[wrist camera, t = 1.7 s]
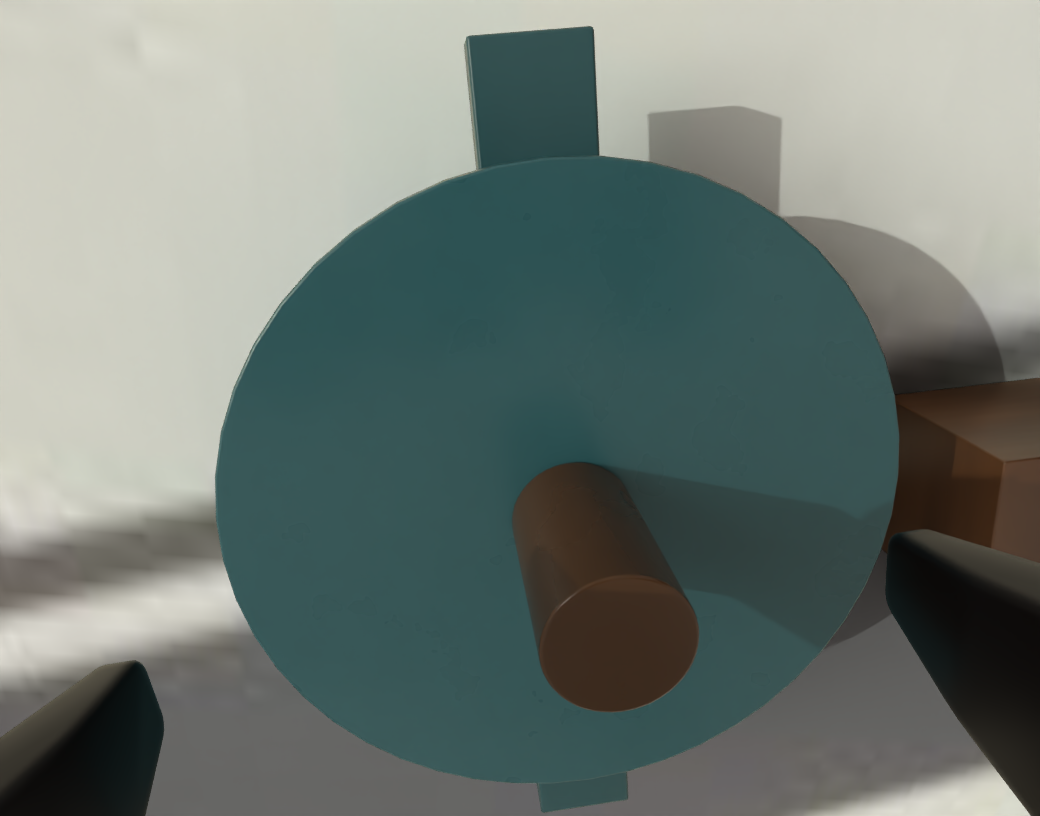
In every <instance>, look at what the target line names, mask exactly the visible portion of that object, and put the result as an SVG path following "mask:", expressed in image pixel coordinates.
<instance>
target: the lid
mask: <svg viewBox="0 0 1040 816" xmlns="http://www.w3.org/2000/svg"><path fill="white" fill-rule="evenodd" d="M898 467H899V428H898V419H897V410H896V401H895V394H894V390H893V387H892V383H891V379H890V375H889V371H888V367H887V364H886V360H885V356H884V354H883V352H882V349H881V347H880V345H879V342H878V340H877V338H876V335H875V333H874V331H873V328H872V326H871V324H870V321H869V319H868V317H867V315H866V314H865V312H864V310H863V309H862V307H861V306H860V304H859V302H858V301H857V299H856V298H855V296H854V294H853V293H852V291H851V290H850V288H849V286H848V285H847V283H846V282H845V280H844V279H843V278H842V277H841V276H840V274H839V273H838V272H837V271H836V270H835V269H834V267H833V266H832V265H831V264H830V263H829V262H828V260H827V259H826V258H825V257H824V256H823V255H822V254H821V252H820V251H819V250H818V249H817V248H816V247H815V246H814V245H813V244H812V243H810V242H809V241H808V240H807V239H806V238H805V237H803V236H802V235H801V234H800V233H799V232H798V231H796V230H795V229H794V228H793V227H792V226H791V225H789V224H788V223H787V222H786V221H785V220H784V219H782V218H781V217H779V216H778V215H776V214H774V213H773V212H771V211H769V210H768V209H766V208H765V207H763V206H761V205H760V204H758V203H757V202H755V201H753V200H752V199H750V198H749V197H747V196H745V195H744V194H742V193H740V192H737V191H735V190H733V189H730V188H728V187H726V186H723V185H721V184H719V183H717V182H714V181H712V180H710V179H707V178H705V177H703V176H700V175H698V174H694V173H690V172H687V171H683V170H679V169H675V168H672V167H668V166H664V165H661V164H657V163H653V162H648V161H640V160H631V159H623V158H615V157H606V156H597V155H588V156H544V157H538V158H532V159H526V160H520V161H514V162H507V163H501V164H495V165H491V166H488V167H485V168H481V169H478V170H475V171H472V172H468V173H465V174H462V175H459V176H455V177H452V178H449V179H446V180H443V181H441V182H439V183H437V184H435V185H432V186H430V187H428V188H426V189H424V190H422V191H419V192H417V193H415V194H413V195H411V196H409V197H407V198H404V199H402V200H400V201H398V202H396V203H395V204H393V205H392V206H390V207H389V208H387V209H385V210H384V211H382V212H381V213H379V214H378V215H376V216H375V217H373V218H371V219H370V220H368V221H367V222H365V223H364V224H362V225H361V226H359V227H358V228H356V229H354V230H353V231H352V232H351V233H350V234H349V235H348V236H346V237H345V238H344V239H343V240H342V241H341V242H339V243H338V244H337V245H336V246H335V247H334V248H332V249H331V250H330V251H329V252H328V253H327V254H325V255H324V256H323V257H322V258H321V259H320V260H319V261H317V262H316V263H315V264H314V265H313V266H312V268H311V269H310V270H309V271H308V272H307V273H306V274H305V276H304V277H303V278H302V279H301V280H300V281H299V282H298V284H297V285H296V286H295V287H294V288H293V289H292V290H291V292H290V293H289V294H288V295H287V296H286V297H285V299H284V300H283V301H282V302H281V303H280V304H279V306H278V308H277V309H276V311H275V312H274V314H273V315H272V317H271V318H270V320H269V321H268V323H267V325H266V326H265V328H264V329H263V331H262V332H261V334H260V335H259V337H258V338H257V340H256V342H255V343H254V345H253V347H252V349H251V351H250V353H249V356H248V358H247V360H246V362H245V364H244V366H243V369H242V371H241V373H240V375H239V377H238V380H237V382H236V384H235V386H234V389H233V392H232V395H231V399H230V402H229V406H228V409H227V413H226V416H225V420H224V423H223V427H222V430H221V435H220V443H219V451H218V458H217V466H216V473H215V493H216V522H217V528H218V533H219V539H220V545H221V551H222V557H223V561H224V564H225V567H226V570H227V574H228V577H229V580H230V583H231V586H232V589H233V592H234V595H235V598H236V600H237V602H238V604H239V606H240V608H241V610H242V612H243V614H244V616H245V618H246V620H247V622H248V624H249V626H250V628H251V630H252V632H253V634H254V636H255V638H256V639H257V640H258V642H259V643H260V645H261V646H262V648H263V649H264V650H265V652H266V653H267V655H268V656H269V658H270V659H271V660H272V662H273V663H274V665H275V666H276V668H277V669H278V670H279V671H280V672H281V673H282V674H283V675H284V676H285V677H286V679H287V680H288V681H289V682H290V683H291V684H292V685H293V686H294V687H295V688H296V689H297V690H298V692H299V693H300V694H301V695H302V696H303V697H304V698H305V699H307V700H308V701H309V702H310V703H311V704H313V705H314V706H315V707H316V708H318V709H319V710H320V711H321V712H322V713H324V714H325V715H326V716H327V717H328V718H330V719H331V720H332V721H333V722H335V723H336V724H338V725H339V726H341V727H343V728H344V729H346V730H347V731H349V732H351V733H352V734H354V735H355V736H357V737H358V738H360V739H362V740H363V741H365V742H366V743H369V744H371V745H373V746H375V747H377V748H379V749H381V750H383V751H385V752H388V753H390V754H392V755H394V756H396V757H398V758H400V759H403V760H406V761H409V762H412V763H415V764H418V765H421V766H424V767H427V768H430V769H433V770H436V771H439V772H444V773H448V774H453V775H458V776H462V777H467V778H472V779H478V780H487V781H496V782H506V783H559V782H569V781H579V780H588V779H594V778H599V777H604V776H608V775H613V774H618V773H623V772H628V771H631V770H634V769H637V768H641V767H644V766H647V765H650V764H653V763H657V762H660V761H663V760H666V759H668V758H670V757H673V756H675V755H677V754H680V753H682V752H685V751H687V750H689V749H692V748H694V747H696V746H699V745H701V744H703V743H704V742H706V741H708V740H710V739H712V738H714V737H715V736H717V735H719V734H721V733H723V732H724V731H726V730H728V729H730V728H732V727H734V726H735V725H736V724H738V723H739V722H741V721H742V720H744V719H745V718H747V717H748V716H750V715H751V714H752V713H754V712H755V711H757V710H758V709H760V708H761V707H763V706H764V705H765V704H767V703H768V702H769V701H770V700H771V699H773V698H774V697H775V696H776V695H777V694H778V693H780V692H781V691H782V690H783V689H784V688H785V687H787V686H788V685H789V684H790V683H791V682H792V681H794V680H795V679H796V678H797V677H798V676H799V675H800V674H801V672H802V671H803V670H804V669H805V668H806V667H807V666H808V665H809V664H810V663H811V662H812V661H813V660H814V659H815V658H816V657H817V656H818V655H819V653H820V652H821V651H822V650H823V649H824V647H825V646H826V645H827V643H828V642H829V641H830V640H831V638H832V637H833V636H834V634H835V633H836V632H837V630H838V629H839V628H840V626H841V625H842V624H843V622H844V621H845V620H846V618H847V616H848V615H849V613H850V611H851V609H852V608H853V606H854V604H855V603H856V601H857V599H858V598H859V596H860V594H861V593H862V591H863V589H864V588H865V585H866V583H867V581H868V579H869V576H870V574H871V572H872V570H873V567H874V565H875V563H876V561H877V558H878V556H879V554H880V552H881V548H882V545H883V542H884V538H885V535H886V532H887V528H888V525H889V522H890V519H891V515H892V510H893V504H894V498H895V492H896V486H897V480H898Z"/></svg>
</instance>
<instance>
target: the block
mask: <svg viewBox="0 0 1040 816" xmlns="http://www.w3.org/2000/svg"><path fill="white" fill-rule="evenodd" d="M895 401H896V410H897V419H898V428H899V467H898V480H897V486H896V492H895V498H894V504H893V510H892V515H891V519H890V522H889V525H888V528H887V532H886V535H885V538H884V542H883V545H882V548H881V549H882V550H883V551H884V552H886V553H887V552H888V543H889V540H890V538H891V537H892V536H893V535H894V534H896V533H901V532H907V531H913V530H919V529H929V530H932V531H936V532H939V533H942V534H946V535H949V536H952V537H955V538H959V539H962V540H965V541H969V542H972V543H975V544H978V545H982V546H985V547H988V548H992V549H995V550H998V551H1002V552H1005V553H1008V554H1011V555H1015V556H1018V557H1021V558H1025V559H1028V560H1031V561H1034V562H1038V563H1040V378H1033V379H1025V380H1017V381H1008V382H1000V383H992V384H983V385H975V386H966V387H958V388H950V389H941V390H933V391H924V392H916V393H908V394H899V395H895Z"/></svg>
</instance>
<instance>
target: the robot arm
mask: <svg viewBox="0 0 1040 816" xmlns="http://www.w3.org/2000/svg"><path fill="white" fill-rule="evenodd" d="M885 590H886V599H887V603H888V606H889V608H890V610H891V612H892V614H893V616H894V617H895V619H896V621H897V622H898V624H899V626H900V627H901V629H902V630H903V632H904V634H905V635H906V637H907V639H908V640H909V642H910V643H911V645H912V647H913V648H914V650H915V652H916V653H917V655H918V656H919V658H920V660H921V661H922V663H923V665H924V666H925V668H926V669H927V671H928V673H929V674H930V676H931V678H932V679H933V681H934V682H935V684H936V686H937V687H938V689H939V691H940V692H941V694H942V695H943V697H944V699H945V700H946V702H947V703H948V705H949V706H950V708H951V709H952V711H953V712H954V714H955V716H956V717H957V719H958V720H959V721H960V723H961V724H962V725H963V727H964V728H965V729H966V731H967V732H968V734H969V735H970V736H971V738H972V739H973V740H974V742H975V743H976V744H977V746H978V747H979V748H980V750H981V751H982V752H983V753H984V755H985V756H986V757H987V759H988V760H989V761H990V763H991V764H992V765H993V767H994V768H995V769H996V770H997V772H998V773H999V774H1000V776H1001V777H1002V778H1003V780H1004V781H1005V782H1006V784H1007V785H1008V786H1009V788H1010V789H1011V790H1012V791H1013V793H1014V794H1015V795H1016V797H1017V798H1018V799H1019V801H1020V802H1021V803H1022V805H1023V806H1024V807H1025V808H1026V810H1027V811H1028V812H1029V814H1030V815H1031V816H1040V563H1038V562H1034V561H1031V560H1028V559H1025V558H1021V557H1018V556H1015V555H1011V554H1008V553H1005V552H1002V551H998V550H995V549H992V548H988V547H985V546H982V545H978V544H975V543H972V542H969V541H965V540H962V539H959V538H955V537H952V536H949V535H946V534H942V533H939V532H936V531H932V530H929V529H919V530H913V531H907V532H901V533H896V534H894V535H893V536H892V537H891V538H890V540H889V543H888V552H887V570H886V589H885ZM163 735H164V721H163V716H162V712H161V710H160V707H159V704H158V701H157V699H156V696H155V693H154V690H153V688H152V685H151V682H150V679H149V676H148V674H147V671H146V669H145V667H144V666H143V665H142V663H140V662H138V661H136V660H132V661H125V662H119V663H113V664H107V665H103V666H100V667H99V668H97V669H96V670H94V671H93V672H91V673H90V674H89V675H87V676H86V677H84V678H83V679H82V680H80V681H79V682H77V683H76V684H75V685H73V686H72V687H70V688H69V689H68V690H66V691H65V692H63V693H62V694H61V695H59V696H58V697H56V698H55V699H54V700H52V701H51V702H49V703H48V704H47V705H45V706H44V707H42V708H41V709H40V710H38V711H37V712H35V713H34V714H33V715H31V716H30V717H28V718H27V719H26V720H24V721H23V722H21V723H20V724H19V725H17V726H16V727H14V728H13V729H12V730H10V731H9V732H7V733H6V734H5V735H3V736H2V737H0V816H145V814H146V810H147V806H148V801H149V797H150V793H151V788H152V784H153V780H154V775H155V771H156V767H157V762H158V758H159V753H160V749H161V745H162V740H163Z"/></svg>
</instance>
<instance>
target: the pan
mask: <svg viewBox="0 0 1040 816" xmlns="http://www.w3.org/2000/svg"><path fill="white" fill-rule="evenodd" d="M464 50H465V60H466V70H467V80H468V90H469V100H470V111H471V121H472V131H473V141H474V151H475V161H476V170H478V169H481V168H485V167H488V166H491V165H495V164H501V163H507V162H514V161H520V160H526V159H532V158H538V157H544V156H588V155H597V156H599V134H598V112H597V90H596V67H595V45H594V29H593V27H591V26H586V27H573V28H561V29H548V30H535V31H523V32H510V33H497V34H485V35H472V36H468V37H467V38H466V41H465V44H464ZM537 788H538V794H539V800H540V806H541V811H542V812H543V813H546V812H552V811H559V810H565V809H571V808H578V807H584V806H591V805H597V804H603V803H610V802H616V801H623V800H627V799H628V781H627V772H623V773H618V774H613V775H608V776H604V777H599V778H594V779H588V780H579V781H569V782H559V783H537Z"/></svg>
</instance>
